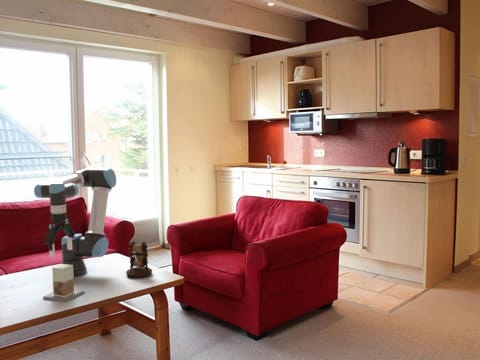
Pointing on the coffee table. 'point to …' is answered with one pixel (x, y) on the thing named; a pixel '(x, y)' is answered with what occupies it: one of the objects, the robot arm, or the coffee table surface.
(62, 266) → the sage block
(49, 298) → the board
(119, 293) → the coffee table surface
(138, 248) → the brown upright round-based piece
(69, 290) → the walnut block
